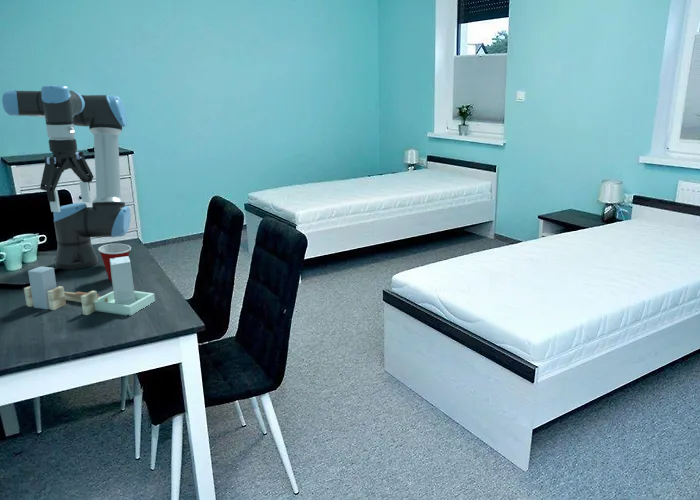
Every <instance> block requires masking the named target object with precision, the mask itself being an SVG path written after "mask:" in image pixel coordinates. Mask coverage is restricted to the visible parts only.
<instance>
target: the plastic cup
mask: <svg viewBox="0 0 700 500" xmlns="http://www.w3.org/2000/svg"><path fill="white" fill-rule="evenodd" d="M97 250H98V252H99V254H100V256H101V259H102V262H103V266H104V269H105V272H106V274H107V275H106V276H107V278H108V279H109V280H108V281H110V282H112V277H111V267H110V259H111V258H118V257H125V256H128V257H129V255H130V252H131V250H132V246H130V245H129V244H124V243H107V244H103V245H101V246H98V249H97Z"/></svg>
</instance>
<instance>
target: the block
mask: <svg viewBox="0 0 700 500" xmlns="http://www.w3.org/2000/svg"><path fill="white" fill-rule="evenodd" d="M27 272H28V273H27V274H28V278H29V279H28V280H29V284H30V285H29V286H30V287H31V293H32V299H33V308H35V309H43V310H49V309H50V307H49V300H48V294H47V291H50V290H52V289H54V288H57V287H58V286H57V281H56V280H57V279H56V274H55V268H54V267H50V266H49V267H48V266H38V267H35V268H33V269H30V270H28V271H27Z"/></svg>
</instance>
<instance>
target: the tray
mask: <svg viewBox="0 0 700 500" xmlns="http://www.w3.org/2000/svg"><path fill="white" fill-rule="evenodd" d="M134 294H135V301H136V302H135V303H133V304H131V305H123V304H116V303H115V298H114V292H113V290H112V291H111V292H108V293H106V294H104V295H101V297H100V298H98V301H95V302H94V304H95V311H94V312H101V313H107V314H114V315H121V316H127V315H129V316H128V317H132V316H134V315H135V313H136V312H137V313H138V311H139V310H141V309H143V308H144V309H146V308H147V307H146V306H148V305H149V306H151V305H152V304H151V303H153V302H155V303H156V296H155V292H154V293H152V292H145V291H139V290H134ZM106 297H107V298H108V302H105V298H106ZM150 304H151V305H150ZM153 304H154V303H153ZM149 306H148V307H149ZM145 307H146V308H145ZM144 309H143V310H144ZM141 311H142V310H141ZM139 312H140V311H139ZM137 313H136V314H137ZM133 314H134V315H133ZM131 315H132V316H131Z"/></svg>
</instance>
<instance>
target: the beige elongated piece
mask: <svg viewBox="0 0 700 500" xmlns="http://www.w3.org/2000/svg"><path fill="white" fill-rule="evenodd" d="M23 292H24V297H25V298H24V299H25V303H26V307H30V308H32V307H34V305H33V299H32V293H31V287H30V285H29V286H26V287H23ZM47 294H48V300H49V307H50V308H49V310H51V311H55V310H57V309H59V308H61V307H64V306H66V305H67V301H68V302H69V301H70V302H76V303H81V308H82V315H84V316H88V315H91V314H92V313H94V312H96V311H95V304H94V302H95V301H98V298H100V297H102V295H101V296H100V294H99V293H98V292H97V290H91V291H88V292H85V291H84V292H83V291H76V292H72V291H71V292H70V291H65V288H64V286H61V285H58V286H57V288H54V289H52V290H50V291H47ZM105 302H108V298H107V297H106V298H105Z"/></svg>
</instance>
